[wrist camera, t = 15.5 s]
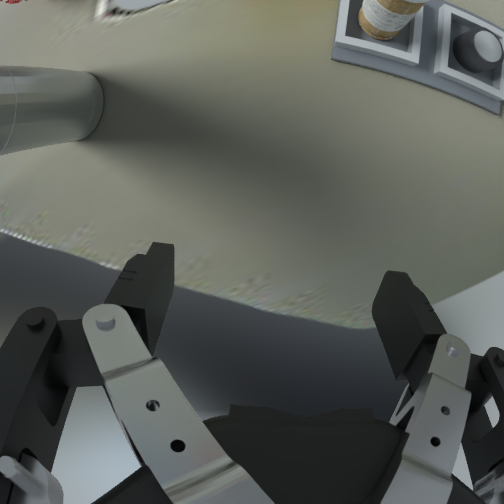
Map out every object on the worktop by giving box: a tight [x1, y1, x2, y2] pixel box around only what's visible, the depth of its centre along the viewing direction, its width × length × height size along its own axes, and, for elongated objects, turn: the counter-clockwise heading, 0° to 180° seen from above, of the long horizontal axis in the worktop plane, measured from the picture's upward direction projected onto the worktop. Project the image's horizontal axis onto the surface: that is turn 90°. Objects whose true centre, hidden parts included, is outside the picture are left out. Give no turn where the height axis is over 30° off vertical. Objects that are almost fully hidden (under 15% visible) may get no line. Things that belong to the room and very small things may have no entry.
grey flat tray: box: [331, 0, 504, 114], centre depth 22 cm, size 19×11×5 cm, turn 81°
